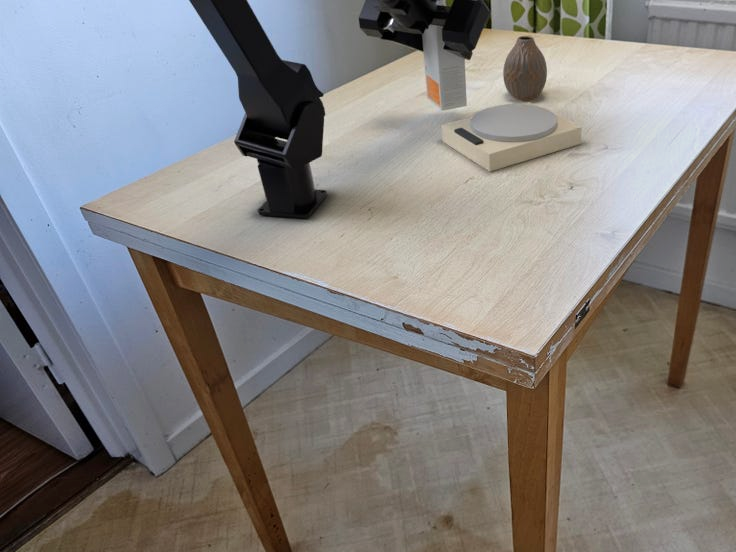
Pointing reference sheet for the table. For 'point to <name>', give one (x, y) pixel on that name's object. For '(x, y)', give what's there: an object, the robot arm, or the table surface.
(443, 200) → the table surface
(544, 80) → the vase
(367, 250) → the table surface
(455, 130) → the scale
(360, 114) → the table surface
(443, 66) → the cosmetic box
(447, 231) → the table surface
